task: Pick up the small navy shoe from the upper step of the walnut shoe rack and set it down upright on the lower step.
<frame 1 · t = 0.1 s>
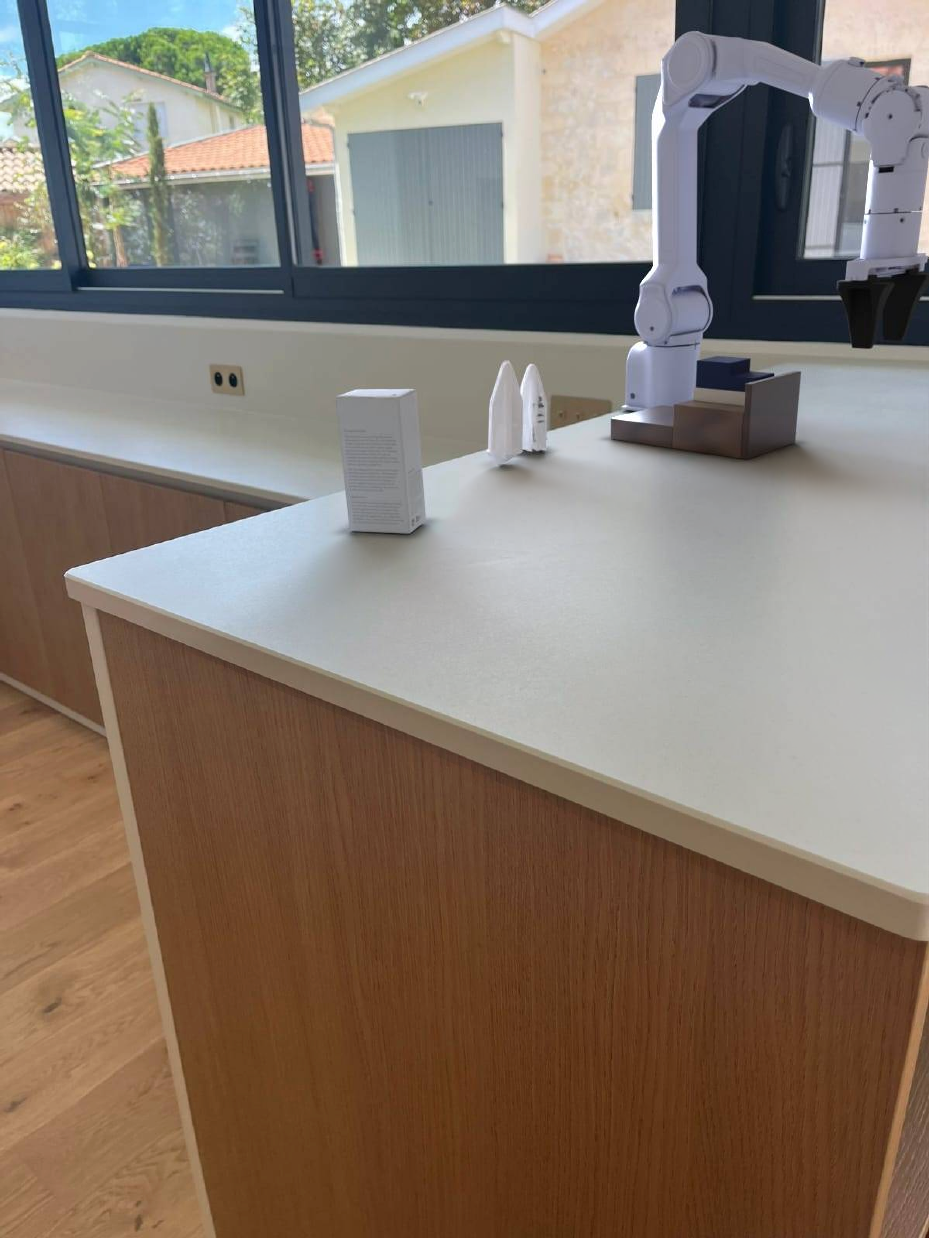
hand: (878, 344, 107), 10 cm above the worktop, tool pointing down, fingers open, 7 cm apart
step shelf: (697, 440, 112), on the worktop
cosmetic box: (387, 528, 86), on the worktop
shaker set: (517, 460, 108), on the worktop
shoe: (732, 401, 107), point 5 cm above the worktop, touching step shelf
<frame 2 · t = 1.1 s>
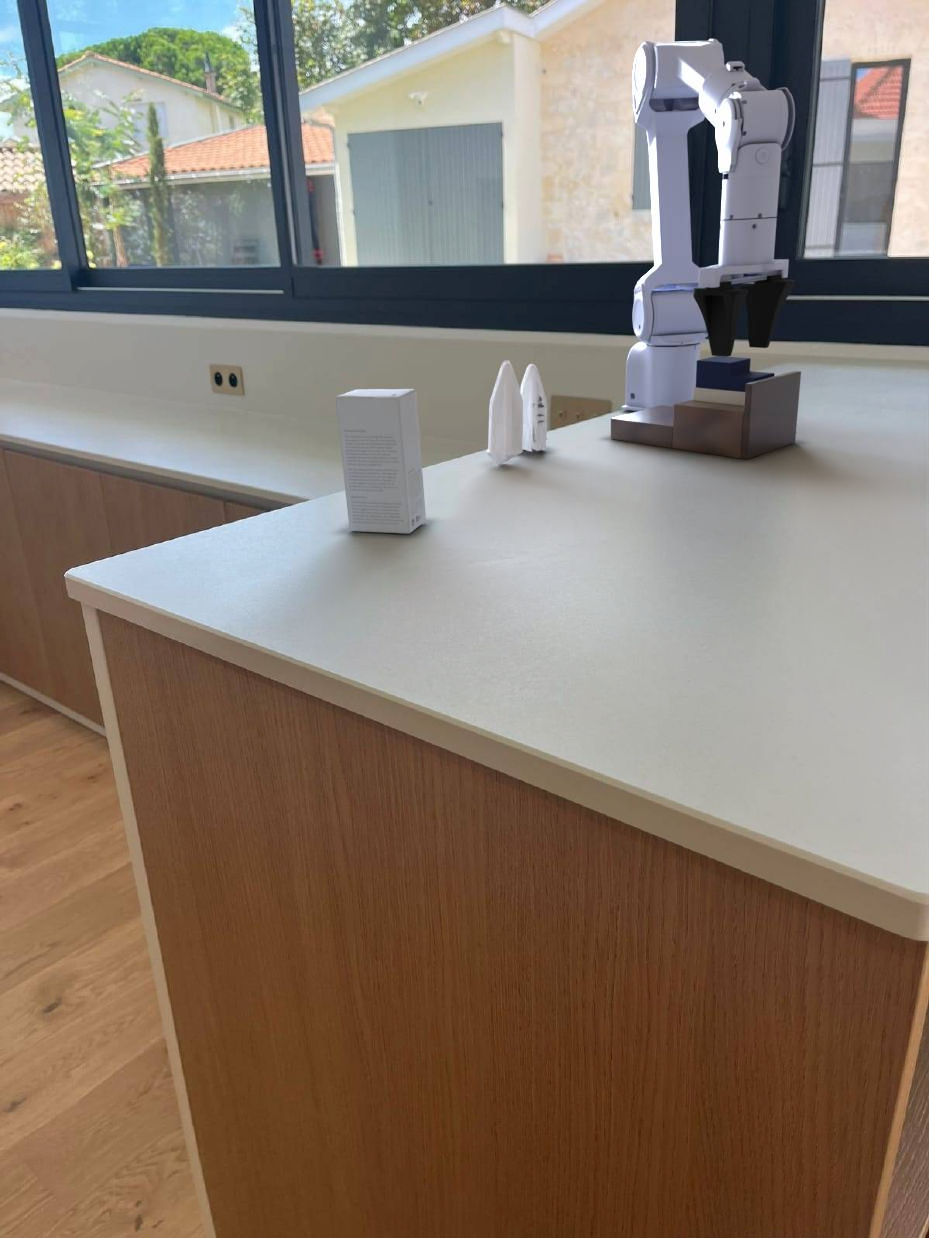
hand: (740, 351, 105), 10 cm above the worktop, tool pointing down, fingers open, 7 cm apart
nothing on the worktop moved.
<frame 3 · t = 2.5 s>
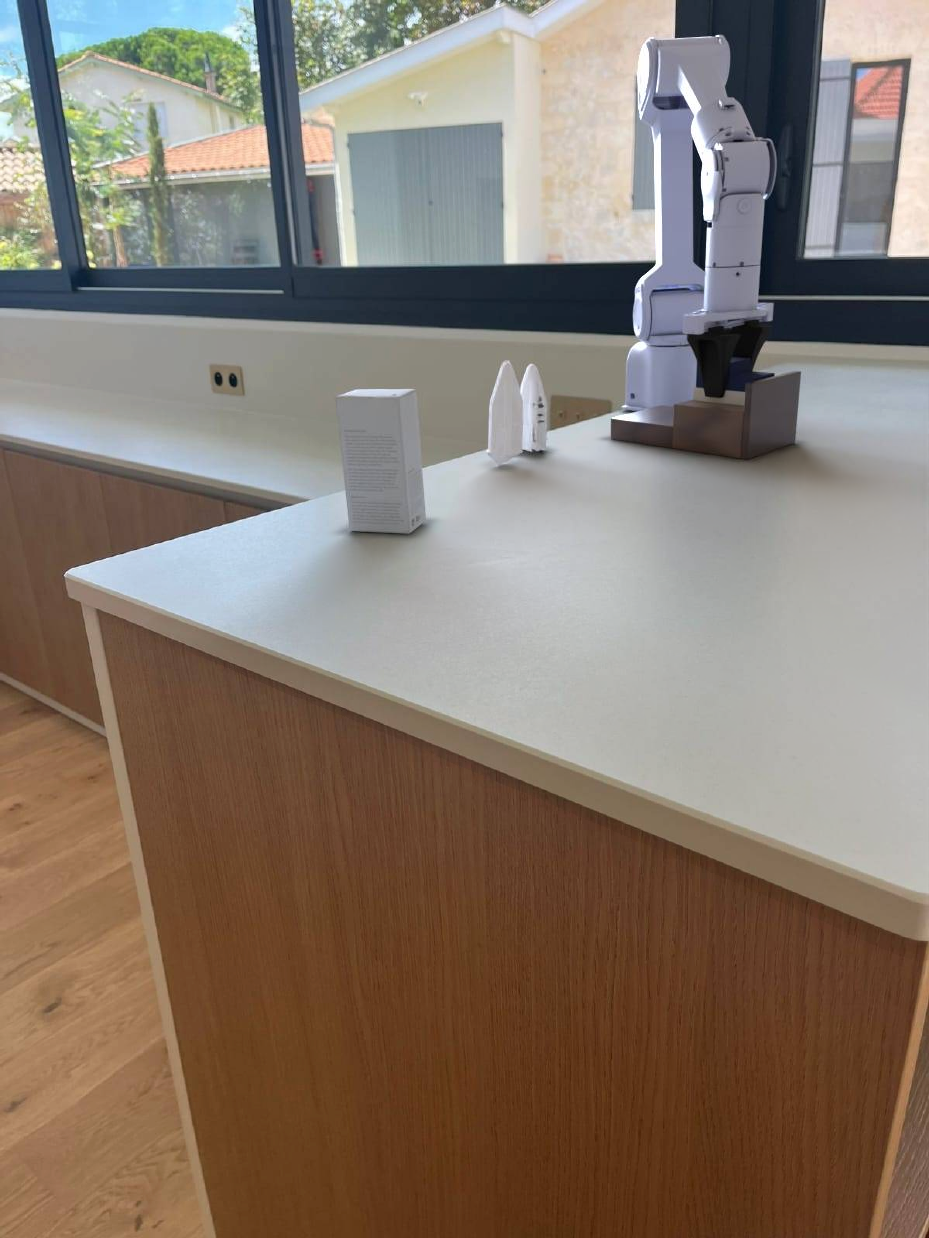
hand: (725, 394, 107), 6 cm above the worktop, tool pointing down, fingers closed on shoe, 4 cm apart
shoe: (733, 401, 107), point 5 cm above the worktop, touching gripper, step shelf
everything else where it was.
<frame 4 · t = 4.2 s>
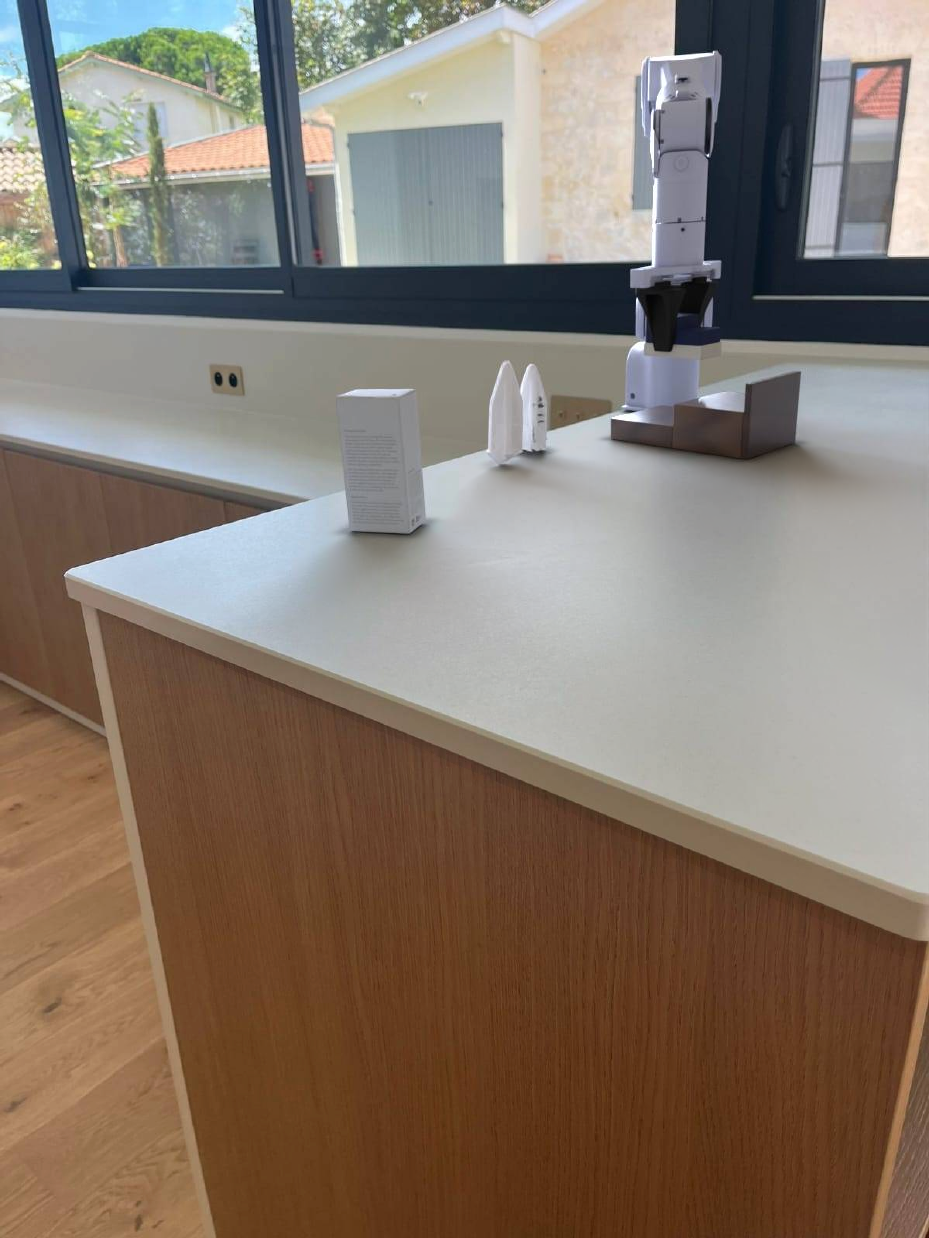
hand: (674, 349, 110), 10 cm above the worktop, tool pointing down, fingers closed on shoe, 4 cm apart
shoe: (681, 355, 110), point 10 cm above the worktop, touching gripper
everything else where it was.
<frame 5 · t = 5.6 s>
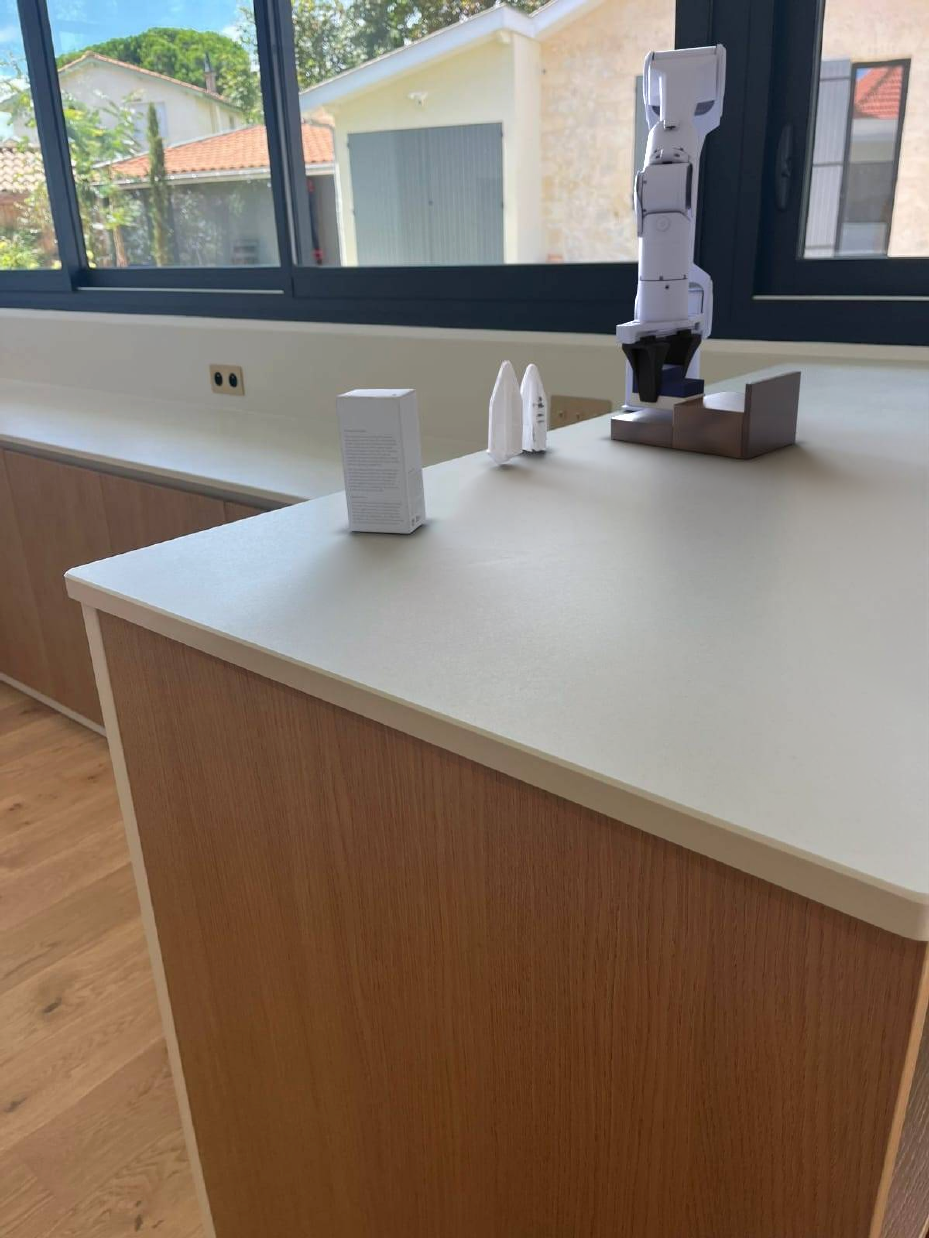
hand: (660, 399, 114), 4 cm above the worktop, tool pointing down, fingers closed on shoe, 4 cm apart
shoe: (666, 405, 113), point 4 cm above the worktop, touching gripper
everything else where it was.
when the fingers open (3 cm above the worktop, at t = 6.4 s): shoe stays where it is, resting on step shelf.
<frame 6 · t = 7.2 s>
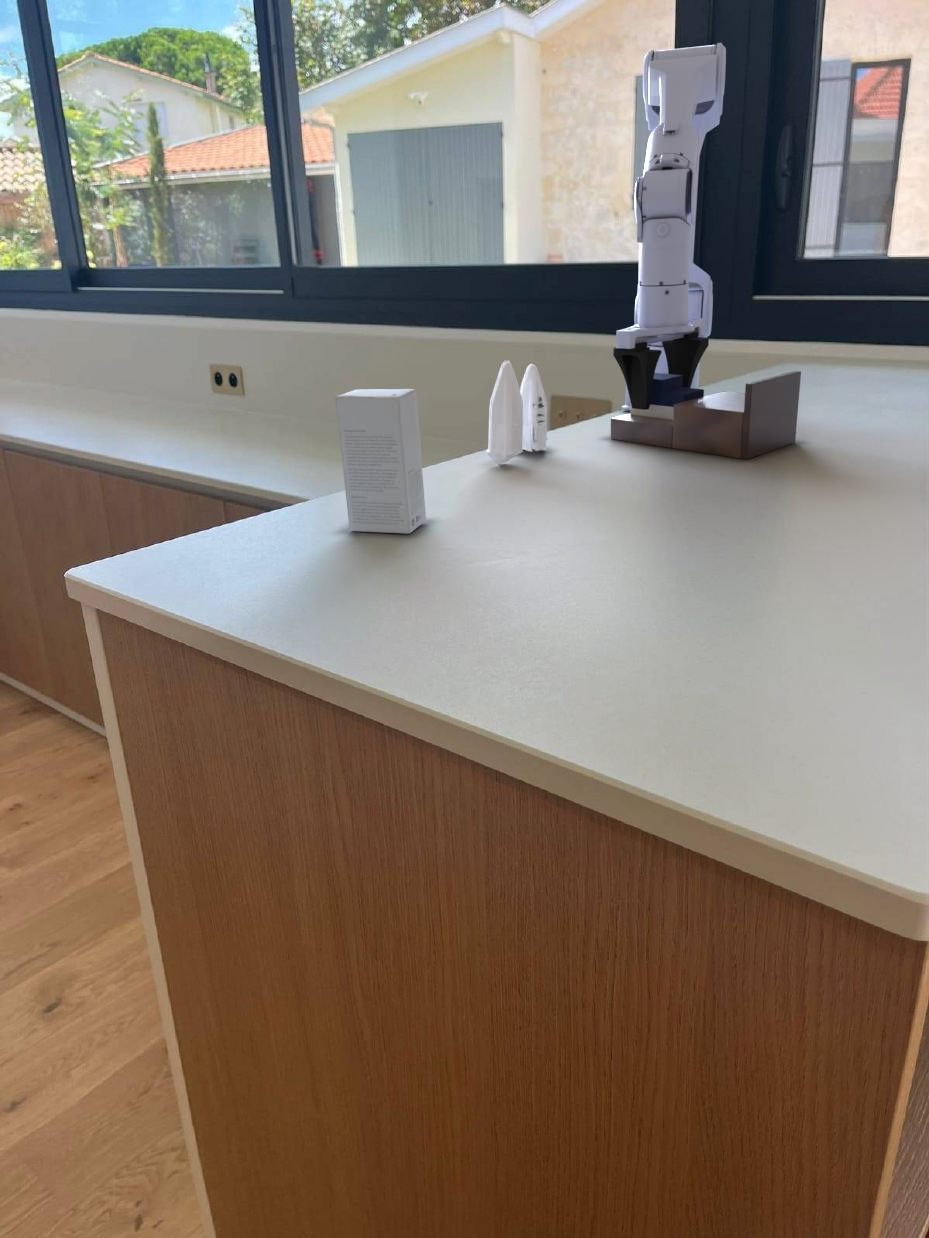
hand: (660, 403, 114), 4 cm above the worktop, tool pointing down, fingers open, 7 cm apart
shoe: (666, 415, 114), point 2 cm above the worktop, touching step shelf
everything else where it was.
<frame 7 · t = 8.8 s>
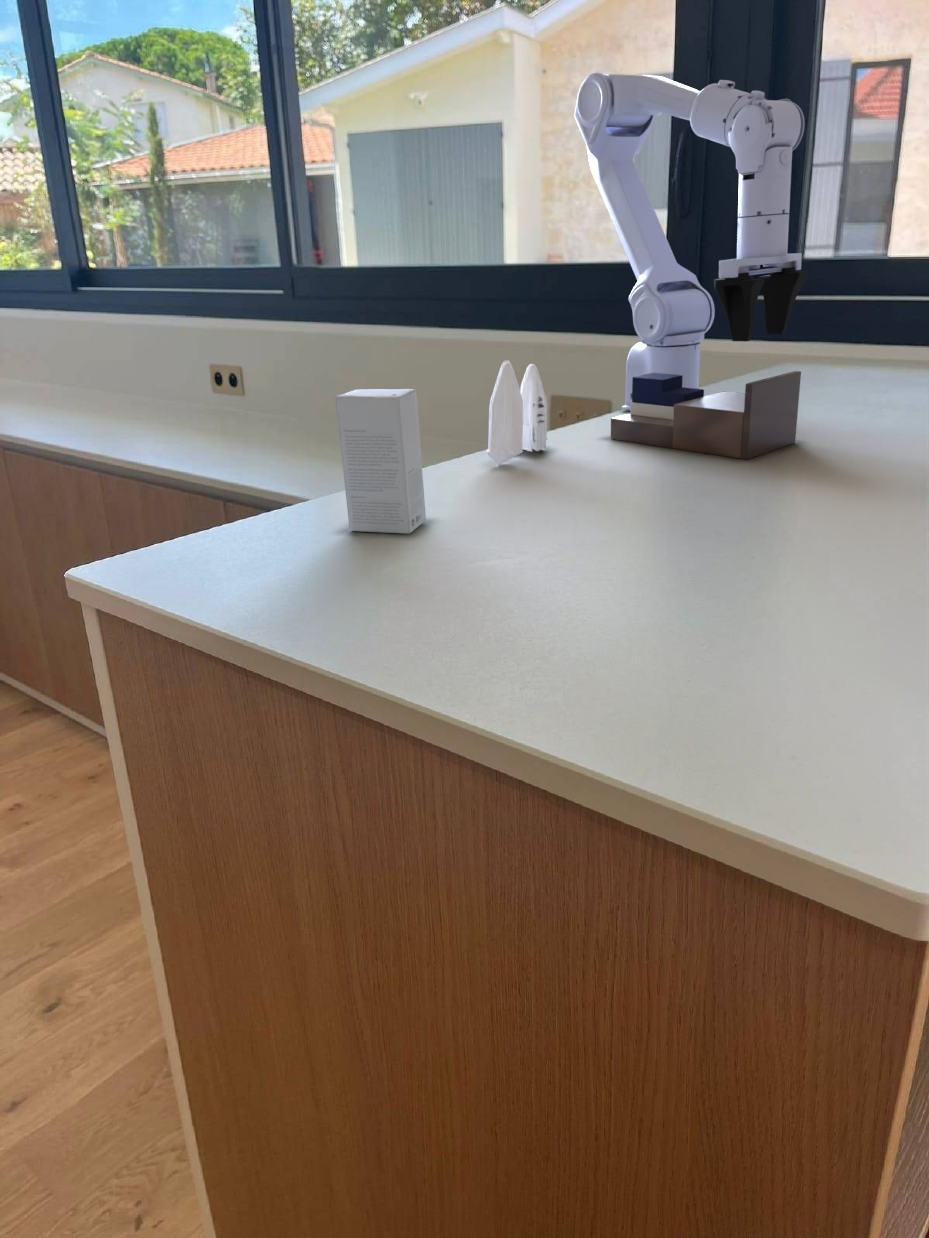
hand: (758, 337, 115), 10 cm above the worktop, tool pointing down, fingers open, 7 cm apart
nothing on the worktop moved.
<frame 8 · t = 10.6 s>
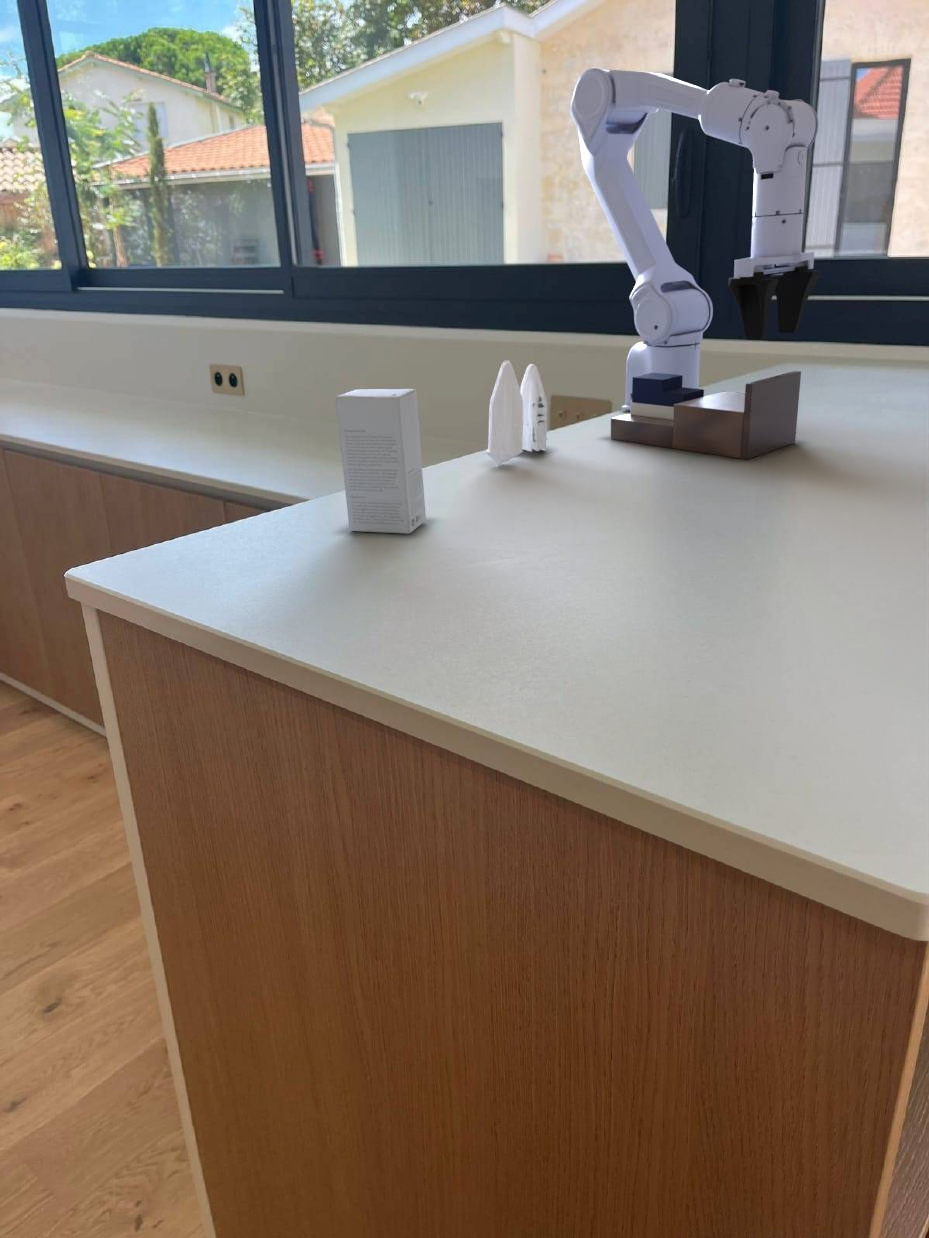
hand: (771, 336, 116), 10 cm above the worktop, tool pointing down, fingers open, 7 cm apart
nothing on the worktop moved.
at the end: shoe inside the target area on the step shelf (0.0 cm from its centre), point 2.5 cm above the step shelf's base; shoe tilted 0°; the gripper is holding nothing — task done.
